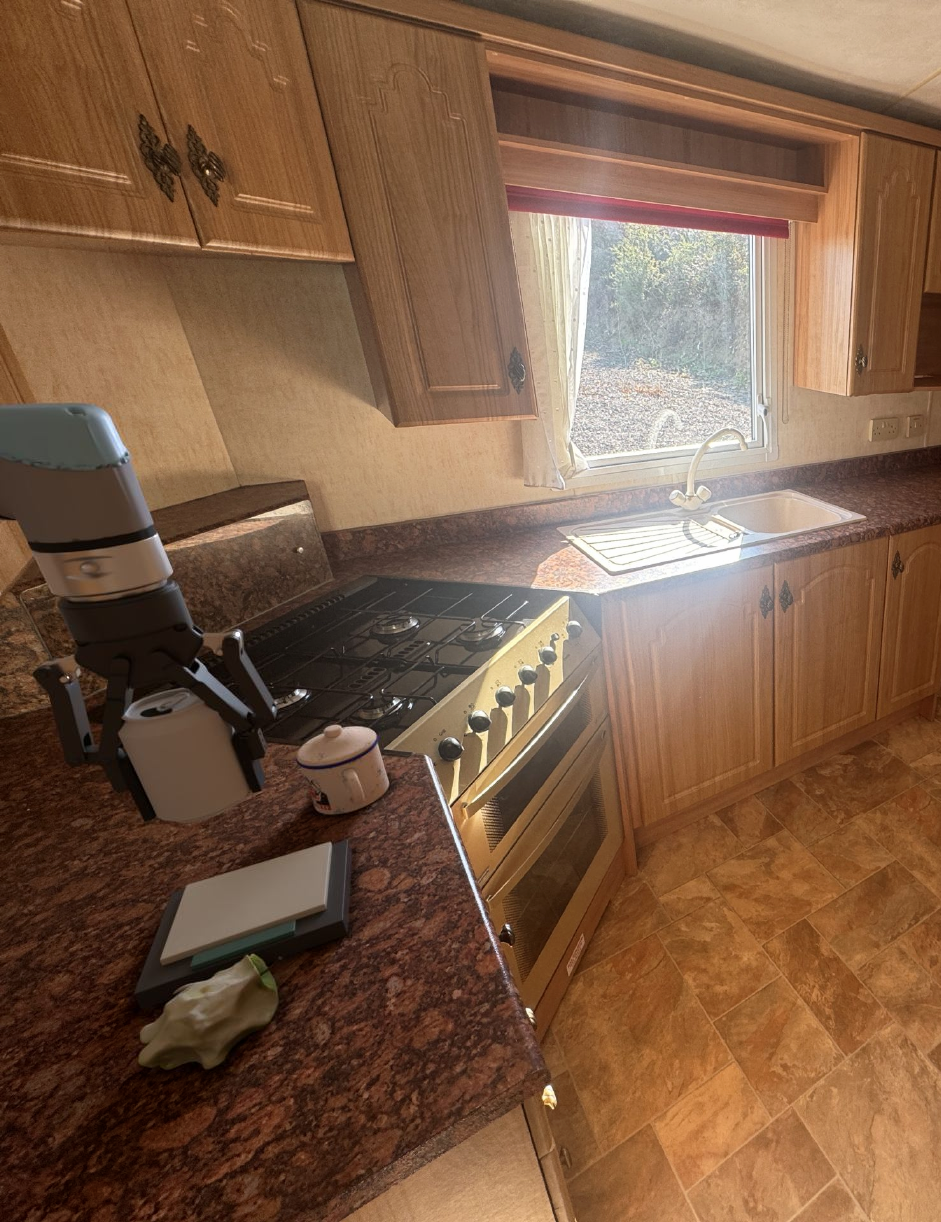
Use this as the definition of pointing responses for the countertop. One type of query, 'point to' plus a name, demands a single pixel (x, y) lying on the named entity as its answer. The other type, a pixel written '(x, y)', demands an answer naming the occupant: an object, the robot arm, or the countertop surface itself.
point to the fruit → (211, 1016)
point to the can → (183, 756)
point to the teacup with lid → (343, 769)
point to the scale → (248, 918)
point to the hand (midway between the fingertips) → (207, 798)
